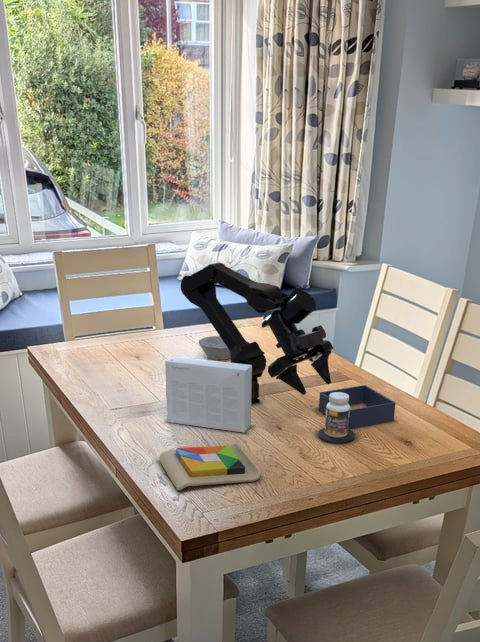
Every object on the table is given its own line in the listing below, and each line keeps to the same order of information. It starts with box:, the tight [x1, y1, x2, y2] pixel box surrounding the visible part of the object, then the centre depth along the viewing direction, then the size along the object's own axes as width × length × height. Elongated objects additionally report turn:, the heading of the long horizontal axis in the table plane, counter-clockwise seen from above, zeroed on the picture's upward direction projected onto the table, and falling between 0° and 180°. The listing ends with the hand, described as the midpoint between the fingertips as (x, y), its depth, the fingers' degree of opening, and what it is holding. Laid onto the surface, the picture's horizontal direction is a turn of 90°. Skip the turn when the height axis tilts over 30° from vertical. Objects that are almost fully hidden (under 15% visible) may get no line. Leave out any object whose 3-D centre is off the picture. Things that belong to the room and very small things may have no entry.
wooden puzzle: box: [158, 442, 262, 491], centre depth 165 cm, size 18×19×4 cm
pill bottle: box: [324, 392, 351, 438], centre depth 180 cm, size 6×6×10 cm
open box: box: [318, 384, 397, 430], centre depth 193 cm, size 14×14×5 cm
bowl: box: [198, 335, 231, 361], centre depth 235 cm, size 13×13×5 cm
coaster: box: [317, 427, 356, 445], centre depth 182 cm, size 9×9×1 cm
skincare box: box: [164, 355, 252, 433], centre depth 185 cm, size 21×5×16 cm, turn 71°
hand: (317, 388), depth 184 cm, fingers open, 9 cm apart
